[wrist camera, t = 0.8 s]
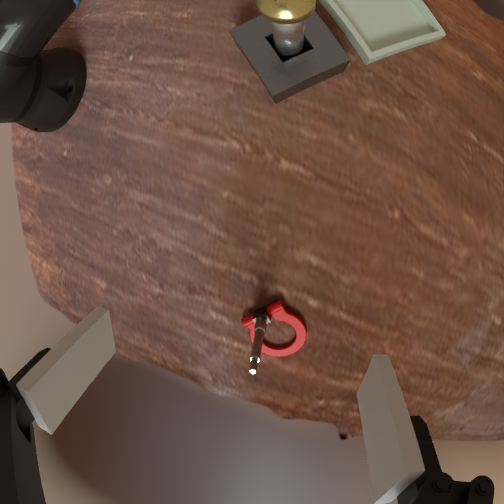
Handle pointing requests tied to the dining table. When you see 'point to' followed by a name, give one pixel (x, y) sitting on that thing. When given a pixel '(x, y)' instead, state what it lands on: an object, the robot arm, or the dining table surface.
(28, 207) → the dining table surface
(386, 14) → the tray
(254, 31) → the hitch block
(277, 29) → the pin
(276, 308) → the tow hook
